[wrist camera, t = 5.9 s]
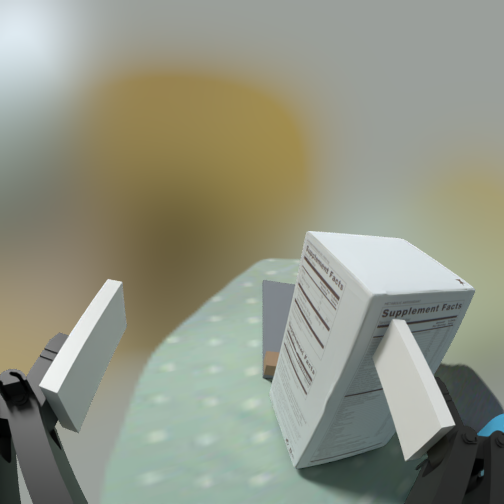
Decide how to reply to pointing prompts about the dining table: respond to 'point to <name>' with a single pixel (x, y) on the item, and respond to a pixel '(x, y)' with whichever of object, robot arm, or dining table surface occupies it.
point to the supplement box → (355, 339)
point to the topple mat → (274, 322)
